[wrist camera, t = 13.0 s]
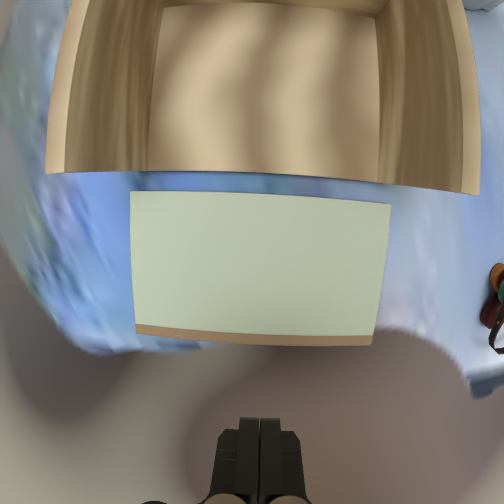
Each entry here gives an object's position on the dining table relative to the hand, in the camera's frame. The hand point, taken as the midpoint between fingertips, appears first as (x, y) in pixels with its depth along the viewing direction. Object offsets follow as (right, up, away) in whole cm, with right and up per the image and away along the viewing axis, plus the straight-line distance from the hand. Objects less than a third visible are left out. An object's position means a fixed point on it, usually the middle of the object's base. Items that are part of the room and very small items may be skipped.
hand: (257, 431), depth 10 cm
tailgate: (+1, +11, +13) cm, 17 cm away
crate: (+1, +20, +11) cm, 23 cm away
